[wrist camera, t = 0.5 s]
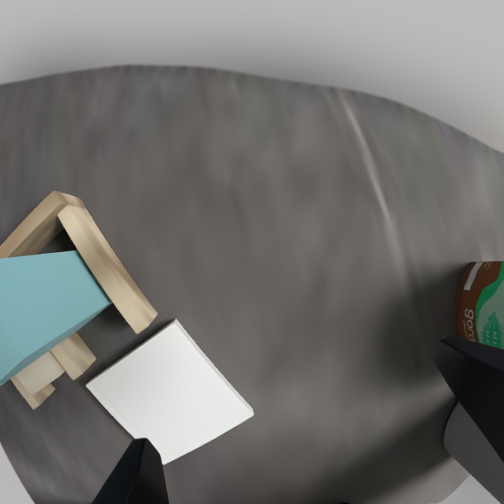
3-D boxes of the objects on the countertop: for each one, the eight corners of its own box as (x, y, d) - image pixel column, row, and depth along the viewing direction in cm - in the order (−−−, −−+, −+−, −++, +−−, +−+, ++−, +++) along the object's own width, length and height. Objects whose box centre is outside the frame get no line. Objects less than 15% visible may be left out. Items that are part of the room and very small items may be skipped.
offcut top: (72, 364, 19) (60, 375, 17) (42, 385, 18) (31, 396, 16) (20, 283, 18) (5, 287, 16) (-6, 310, 18) (-20, 315, 16)
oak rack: (157, 313, 21) (145, 330, 17) (49, 393, 20) (27, 415, 16) (79, 197, 20) (53, 190, 16) (-15, 295, 19) (-44, 303, 15)
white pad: (252, 408, 22) (253, 415, 21) (165, 457, 21) (163, 464, 20) (176, 318, 21) (174, 322, 20) (90, 380, 20) (85, 385, 19)
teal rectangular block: (121, 295, 20) (23, 358, 8) (79, 329, 20) (-23, 403, 8) (90, 249, 20) (-31, 262, 8) (50, 284, 20) (-69, 322, 7)
